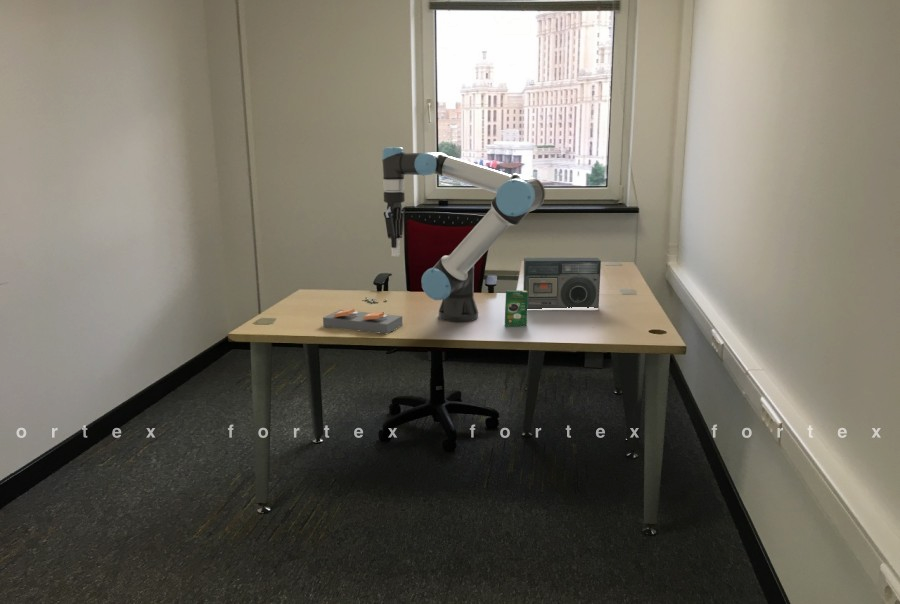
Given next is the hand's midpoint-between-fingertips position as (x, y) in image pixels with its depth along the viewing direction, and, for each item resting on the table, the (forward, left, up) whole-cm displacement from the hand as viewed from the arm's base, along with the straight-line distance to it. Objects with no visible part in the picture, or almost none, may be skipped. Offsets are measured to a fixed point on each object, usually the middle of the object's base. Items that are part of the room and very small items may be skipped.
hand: (395, 255), depth 246 cm
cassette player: (-53, -39, -25) cm, 70 cm away
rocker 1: (+14, +15, -19) cm, 28 cm away
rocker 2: (+2, +15, -19) cm, 24 cm away
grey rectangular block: (+8, +12, -24) cm, 28 cm away
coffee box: (-44, -8, -25) cm, 51 cm away
